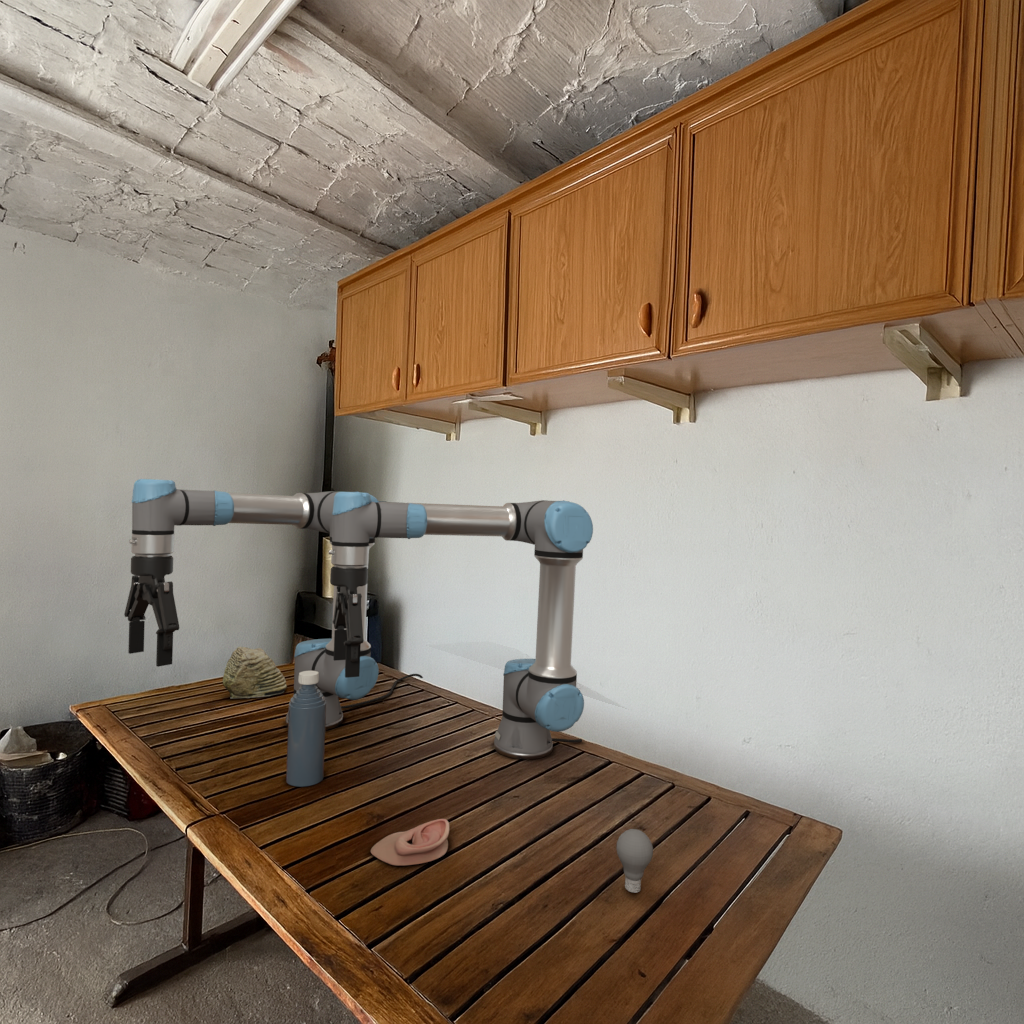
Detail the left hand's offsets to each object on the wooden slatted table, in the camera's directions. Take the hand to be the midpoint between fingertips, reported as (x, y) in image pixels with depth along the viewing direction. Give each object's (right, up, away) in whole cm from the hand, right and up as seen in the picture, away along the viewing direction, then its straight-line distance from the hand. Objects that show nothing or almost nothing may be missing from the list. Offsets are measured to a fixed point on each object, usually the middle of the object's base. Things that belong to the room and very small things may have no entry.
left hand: (149, 658), depth 129 cm
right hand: (+39, -3, +2) cm, 40 cm away
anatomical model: (+56, -32, -14) cm, 65 cm away
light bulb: (+94, -33, -24) cm, 103 cm away
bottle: (+28, -30, +13) cm, 43 cm away
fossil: (-7, -27, +69) cm, 74 cm away
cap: (+29, -6, +12) cm, 32 cm away
